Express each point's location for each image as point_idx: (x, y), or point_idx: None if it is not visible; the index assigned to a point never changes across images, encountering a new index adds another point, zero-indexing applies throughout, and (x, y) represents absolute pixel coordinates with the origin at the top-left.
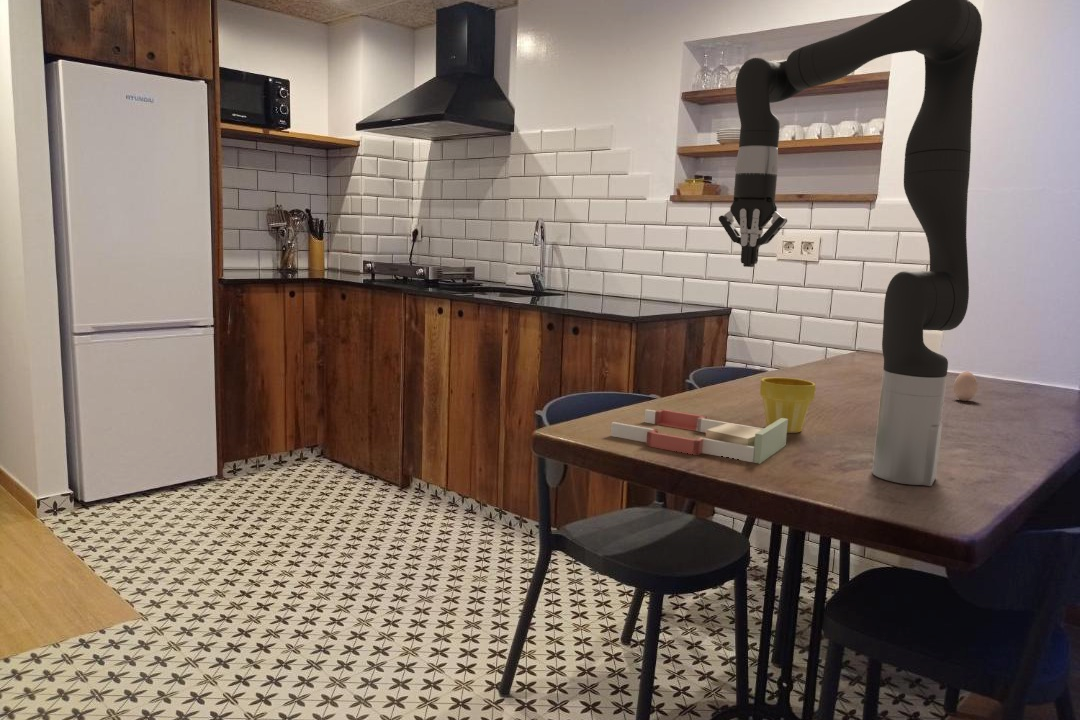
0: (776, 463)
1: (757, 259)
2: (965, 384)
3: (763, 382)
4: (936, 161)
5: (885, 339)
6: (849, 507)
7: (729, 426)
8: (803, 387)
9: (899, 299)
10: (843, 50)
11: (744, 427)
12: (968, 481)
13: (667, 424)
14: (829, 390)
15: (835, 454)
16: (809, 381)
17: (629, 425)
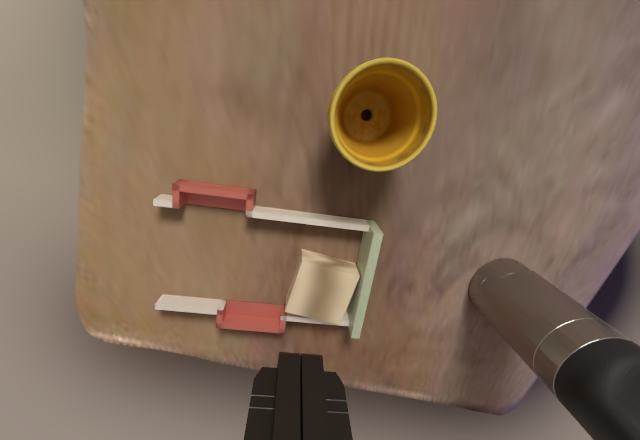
0: (370, 304)
1: (344, 399)
2: None
3: (337, 148)
4: None
5: (593, 428)
6: (436, 393)
7: (307, 279)
8: (414, 158)
9: None
10: None
11: (327, 273)
12: (565, 262)
13: (199, 201)
14: None
15: (435, 228)
16: (427, 82)
17: (181, 309)
